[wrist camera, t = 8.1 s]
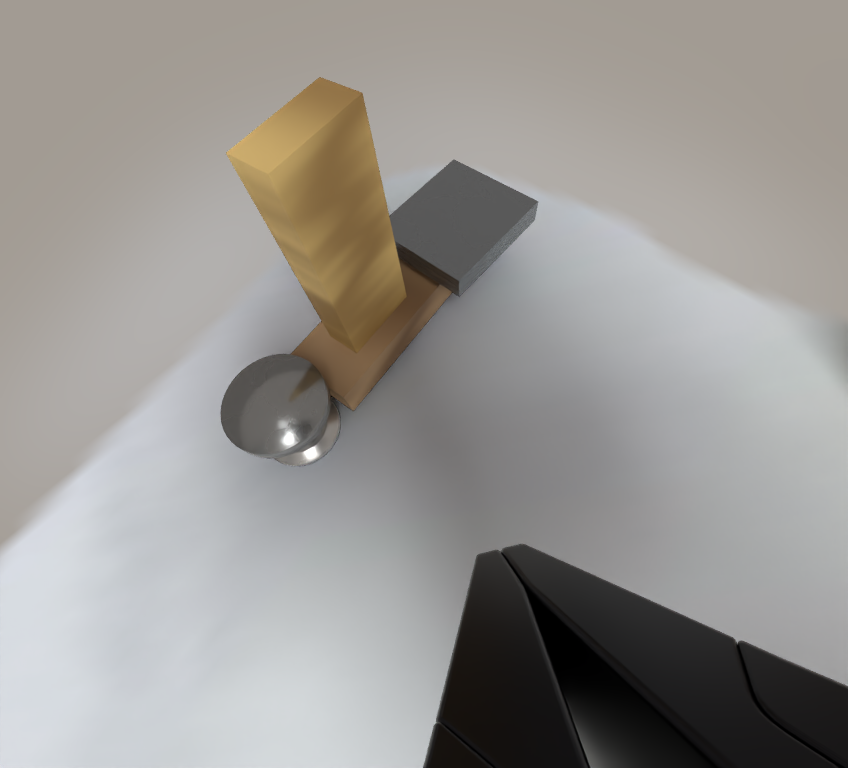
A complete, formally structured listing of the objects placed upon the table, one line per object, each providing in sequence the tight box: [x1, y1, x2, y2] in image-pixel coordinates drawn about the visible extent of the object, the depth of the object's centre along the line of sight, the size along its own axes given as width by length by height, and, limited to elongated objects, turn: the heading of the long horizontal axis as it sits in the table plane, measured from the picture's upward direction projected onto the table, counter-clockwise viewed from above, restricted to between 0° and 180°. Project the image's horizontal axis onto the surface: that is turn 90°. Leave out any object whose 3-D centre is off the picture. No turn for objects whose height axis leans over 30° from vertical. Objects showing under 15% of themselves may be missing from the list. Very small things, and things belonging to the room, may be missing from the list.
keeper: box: [389, 160, 538, 297], centre depth 19 cm, size 5×5×4 cm
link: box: [226, 77, 452, 411], centre depth 15 cm, size 9×3×10 cm, turn 143°
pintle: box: [221, 354, 341, 466], centre depth 17 cm, size 4×4×3 cm
